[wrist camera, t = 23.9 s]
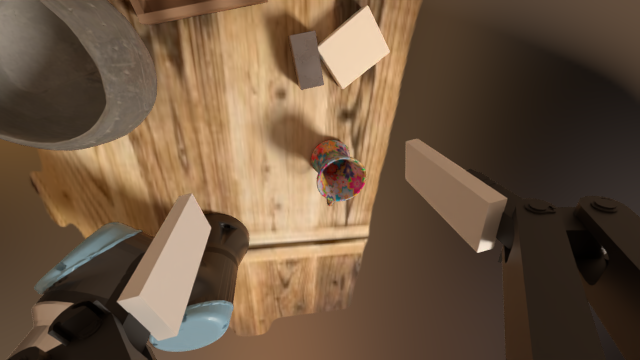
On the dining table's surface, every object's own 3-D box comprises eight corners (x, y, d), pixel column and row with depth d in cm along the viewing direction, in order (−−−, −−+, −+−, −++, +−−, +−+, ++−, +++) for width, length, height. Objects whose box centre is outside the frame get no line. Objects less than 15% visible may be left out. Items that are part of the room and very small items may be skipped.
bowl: (25, 108, 39) (-94, 141, 26) (-15, -57, 30) (-226, -129, 17) (171, 137, 45) (131, 175, 32) (174, 7, 36) (121, -11, 23)
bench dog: (298, 85, 45) (301, 89, 41) (287, 36, 41) (289, 35, 37) (319, 81, 45) (323, 84, 41) (311, 31, 41) (315, 30, 37)
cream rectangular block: (338, 86, 46) (343, 89, 43) (313, 47, 42) (316, 48, 39) (382, 51, 45) (390, 51, 42) (360, 7, 41) (367, 5, 38)
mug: (314, 133, 50) (323, 153, 41) (355, 140, 52) (373, 161, 43) (302, 183, 55) (308, 211, 46) (340, 187, 58) (353, 214, 49)
